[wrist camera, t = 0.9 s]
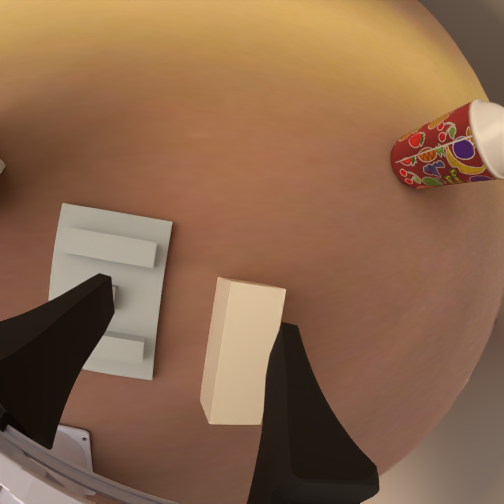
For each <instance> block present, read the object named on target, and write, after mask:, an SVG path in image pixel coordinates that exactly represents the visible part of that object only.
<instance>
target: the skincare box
mask: <svg viewBox="0 0 504 504" xmlns="http://www.w3.org/2000/svg"><path fill="white" fill-rule="evenodd" d="M5 166H6V165H5V164H4V162H3V161H2V160H1V159H0V174H1V173H2V171H3V170H4V168H5Z"/></svg>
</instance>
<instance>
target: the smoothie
mask: <svg viewBox="0 0 504 504" xmlns="http://www.w3.org/2000/svg"><path fill="white" fill-rule="evenodd" d="M391 162H392V167H393V169H394V172H395V174H396V175H397V177H398V179H399V180H400V181H401V182H402V183H404V184H406V185H409V186H411V187H413V188H418V189H420V188H428V187H435V186H443V185H451V184H460V183H468V182H477V181H486V180H495V179H500V180H502V179H504V107H502V106H501V105H499V104H496V103H493V102H485V101H483V100H481V99H474V100H473V101H472V102H470V103H468V104H465V105H463V106H461V107H459V108H457V109H455V110H453V111H451V112H449V113H447V114H445V115H443V116H441V117H439V118H438V119H436V120H434V121H432V122H430V123H428V124H426V125H424V126H422V127H420V128H418V129H416V130H414V131H412V132H410V133H408V134H406V135H404V136H402V137H401V138H400V139H399V140H398V141H397V143H396V145H395V146H394V147H393V149H392V152H391Z"/></svg>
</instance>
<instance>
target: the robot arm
mask: <svg viewBox="0 0 504 504" xmlns="http://www.w3.org/2000/svg"><path fill="white" fill-rule="evenodd" d="M114 313H115V309H114V300H113V289H112V277H111V276H108V275H104V274H101V273H98V274H97V275H95V276H93V277H91V278H89V279H88V280H86V281H84V282H82V283H81V284H79V285H77V286H76V287H74V288H72V289H70V290H69V291H67V292H65V293H64V294H62V295H60V296H58V297H56V298H54V299H53V300H51V301H49V302H47V303H45V304H43V305H41V306H39V307H37V308H35V309H33V310H30V311H28V312H26V313H23V314H21V315H18V316H15V317H12V318H9V319H7V320H4V321H0V504H97V503H95V502H92V501H90V500H88V499H86V495H87V494H88V495H95V492H96V493H98V494H100V495H102V496H105V497H107V498H110V499H112V500H114V501H117V502H119V503H122V504H180V503H176V502H173V501H169V500H166V499H163V498H159V497H156V496H153V495H150V494H147V493H144V492H141V491H138V490H135V489H133V488H130V487H127V486H125V485H122V484H119V483H117V482H114V481H112V480H110V479H107V478H105V477H102V476H100V475H98V474H96V473H93V468H92V458H91V447H90V435H89V432H88V431H86V430H82V429H78V428H73V427H68V426H64V425H60V424H59V422H60V419H61V416H62V413H63V410H64V407H65V404H66V402H67V399H68V397H69V394H70V392H71V390H72V387H73V385H74V383H75V381H76V379H77V377H78V375H79V373H80V371H81V369H82V368H83V366H84V364H85V363H86V361H87V360H88V358H89V357H90V355H91V353H92V352H93V350H94V349H95V347H96V346H97V344H98V343H99V341H100V340H101V338H102V336H103V335H104V333H105V332H106V330H107V328H108V326H109V324H110V322H111V319H112V317H113V315H114ZM83 437H85V438H86V439H87V440H85V439H83ZM378 491H379V477H378V472H377V467H376V465H375V464H374V463H373V462H372V461H371V460H370V459H369V458H368V457H367V456H366V455H365V454H364V453H363V452H362V451H361V450H360V449H359V447H358V446H357V445H356V444H355V443H354V441H353V440H352V439H351V438H350V436H349V435H348V433H347V432H346V431H345V429H344V428H343V426H342V425H341V424H340V422H339V421H338V419H337V418H336V416H335V415H334V413H333V411H332V410H331V408H330V406H329V404H328V403H327V401H326V399H325V397H324V395H323V393H322V391H321V389H320V387H319V385H318V383H317V380H316V378H315V376H314V373H313V371H312V368H311V366H310V363H309V361H308V358H307V355H306V352H305V349H304V346H303V343H302V339H301V336H300V332H299V328H298V326H297V325H293V324H288V323H284V322H282V323H281V326H280V328H279V331H278V334H277V336H276V339H275V342H274V344H273V347H272V350H271V352H270V355H269V360H268V366H267V372H266V379H265V395H264V412H263V426H262V434H261V440H260V445H259V451H258V456H257V461H256V466H255V471H254V475H253V480H252V484H251V489H250V493H249V497H248V501H247V504H360V503H361V502H363V501H365V500H367V499H369V498H371V497H373V496H374V495H375V494H377V493H378Z"/></svg>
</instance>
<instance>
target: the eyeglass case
mask: <svg viewBox="0 0 504 504" xmlns="http://www.w3.org/2000/svg"><path fill="white" fill-rule="evenodd" d="M285 293H286V289H283V288H279V287H275V286H271V285H267V284H262V283H255V282H249V281H242V280H236V279H229V278H223V277H218V280H217V286H216V293H215V299H214V305H213V312H212V318H211V325H210V331H209V338H208V345H207V352H206V358H205V365H204V372H203V380H202V387H201V394H200V402H201V405H202V407H203V410H204V412H205V415H206V417H207V420H208V422H209V424H225V425H261V420H262V416H263V411H264V395H265V379H266V372H267V366H268V360H269V355H270V352H271V350H272V347H273V344H274V342H275V339H276V336H277V334H278V331H279V328H280V322H281V317H282V311H283V305H284V299H285Z"/></svg>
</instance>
